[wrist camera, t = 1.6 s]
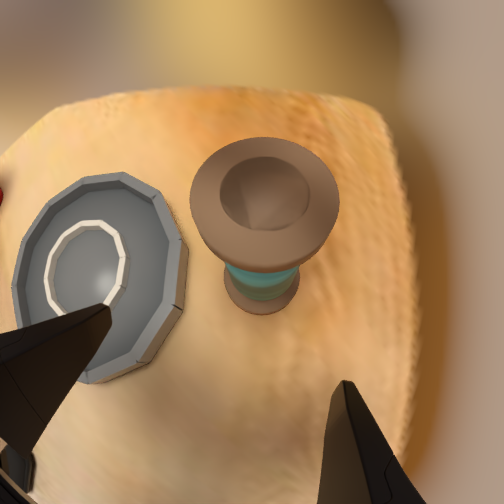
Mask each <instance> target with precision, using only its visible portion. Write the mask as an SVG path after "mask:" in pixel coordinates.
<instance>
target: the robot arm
mask: <svg viewBox="0 0 504 504" xmlns="http://www.w3.org/2000/svg"><path fill="white" fill-rule="evenodd" d="M111 327H112V315H111V309H110V307H109V306H108V305H106V304H103V303H98V304H95V305H92V306H89V307H86V308H83V309H80V310H77V311H73V312H70V313H67V314H64V315H61V316H58V317H55V318H52V319H48V320H45V321H42V322H39V323H36V324H33V325H30V326H26V327H23V328H20V329H17V330H13V331H10V332H6V333H2V334H0V504H37V503H36V502H35V501H34V500H33V499H32V498H30V497H29V496H28V495H27V494H26V493H25V492H24V491H23V490H22V489H21V488H20V487H19V486H18V485H16V484H15V483H14V482H13V481H12V480H11V479H10V478H9V477H8V476H9V474H10V473H9V467H8V461H7V454H6V450H5V447H6V446H7V445H9V446H10V447H11V448H12V449H14V450H15V451H16V452H17V453H18V454H19V455H21V456H22V457H23V458H24V459H25V460H26V459H27V458H28V456H29V455H30V453H31V451H32V450H33V448H34V446H35V445H36V443H37V441H38V440H39V438H40V436H41V435H42V433H43V431H44V430H45V428H46V427H47V426H46V425H48V423H49V422H50V420H51V418H52V417H53V415H54V414H55V412H56V411H57V409H58V408H59V406H60V405H61V403H62V402H63V400H64V399H65V397H66V396H67V394H68V393H69V391H70V390H71V388H72V387H73V385H74V384H75V382H76V381H77V380H78V378H79V377H80V375H81V374H82V372H83V371H84V370H85V368H86V367H87V365H88V364H89V363H90V361H91V360H92V358H93V357H94V356H95V354H96V352H97V351H98V349H99V347H100V346H101V344H102V342H103V340H104V339H105V337H106V335H107V334H108V332H109V330H110V329H111ZM317 504H426V502H425V501H424V500H423V498H422V497H421V495H420V494H419V493H418V491H417V490H416V488H415V487H414V486H413V484H412V483H411V481H410V480H409V478H408V477H407V475H406V474H405V472H404V471H403V469H402V467H401V466H400V464H399V462H398V460H397V458H396V457H395V455H393V451H392V450H391V448H390V446H389V444H388V442H387V441H386V439H385V437H384V435H383V433H382V432H381V430H380V428H379V426H378V424H377V423H376V421H375V419H374V417H373V416H372V414H371V412H370V410H369V409H368V407H367V405H366V403H365V402H364V400H363V398H362V396H361V395H360V393H359V391H358V389H357V388H356V386H355V384H354V383H353V382H352V381H347V380H342V381H341V382H340V383H339V385H338V386H337V388H336V389H335V391H334V392H333V394H332V397H331V402H330V408H329V414H328V419H327V424H326V430H325V436H324V448H323V459H322V468H321V477H320V486H319V493H318V501H317Z"/></svg>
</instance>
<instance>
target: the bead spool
mask: <svg viewBox="0 0 504 504" xmlns="http://www.w3.org/2000/svg"><path fill="white" fill-rule="evenodd" d="M339 203H340V200H339V191H338V187H337V184H336V181H335V179H334V177H333V175H332V173H331V171H330V170H329V169H328V167H327V166H326V165H325V163H324V162H323V161H322V160H321V159H320V158H319V157H317V156H316V155H315V154H314V153H312V152H311V151H309V150H308V149H306V148H304V147H302V146H301V145H299V144H296V143H293V142H291V141H287V140H283V139H278V138H270V137H256V138H249V139H244V140H240V141H237V142H234V143H231V144H229V145H227V146H225V147H223V148H221V149H220V150H218V151H216V152H215V153H214V154H213V155H211V156H210V157H209V158H208V159H207V160H206V161H205V162H204V163H203V165H202V166H201V167H200V168H199V170H198V172H197V174H196V175H195V177H194V180H193V182H192V186H191V190H190V209H191V213H192V217H193V219H194V222H195V224H196V226H197V229H198V231H199V233H200V235H201V237H202V239H203V241H204V242H205V244H206V245H207V246H208V248H209V249H210V250H211V251H212V252H213V253H214V254H215V255H216V256H217V257H218V258H220V259H221V260H223V261H224V262H225V264H226V266H225V270H224V282H225V287H226V289H227V292H228V294H229V296H230V298H231V299H232V301H233V302H234V303H235V304H236V305H237V306H238V307H239V308H241V309H242V310H244V311H246V312H249V313H251V314H256V315H267V314H272V313H275V312H277V311H279V310H281V309H283V308H284V307H285V306H286V305H288V303H289V302H290V301H291V300H292V298H293V297H294V295H295V293H296V291H297V289H298V286H299V281H300V273H299V266H300V265H301V264H303V263H304V262H306V261H307V260H309V259H310V258H311V257H312V256H314V255H315V254H316V253H317V252H318V251H319V249H320V248H321V247H322V246H323V244H324V243H325V241H326V239H327V238H328V236H329V234H330V232H331V230H332V228H333V227H334V224H335V222H336V219H337V216H338V212H339Z"/></svg>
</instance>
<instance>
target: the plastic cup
mask: <svg viewBox="0 0 504 504" xmlns="http://www.w3.org/2000/svg"><path fill="white" fill-rule="evenodd" d="M2 198H3V192H2V190H1V188H0V205H1V202H2Z"/></svg>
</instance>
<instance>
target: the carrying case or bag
mask: <svg viewBox="0 0 504 504" xmlns="http://www.w3.org/2000/svg"><path fill="white" fill-rule="evenodd" d="M5 450H6V454H7V461H8V467H9V473H10V474H9V476H8V477H9V478H10V479H11V480H12V481H13V482H14V483H15V484H16V485H18V486H19V487H20V488H21V489H22V490H23V491H24V492H25V493H26V494H28V492H29V487H30V478H31V471H32V456H31V453H30V455H29V456H28V458H27V459H26V460H25V459H24V458H23V457H22V456H21V455H19V454H18V453H17V452H16V451H15V450H14V449H12V448H11V447H10V446H9V445H7V446H6V447H5Z"/></svg>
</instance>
